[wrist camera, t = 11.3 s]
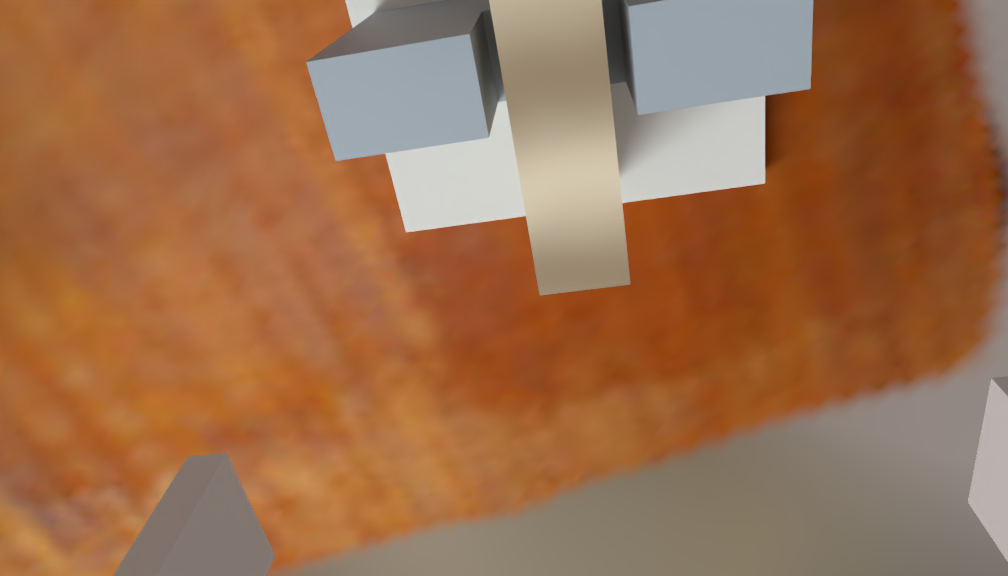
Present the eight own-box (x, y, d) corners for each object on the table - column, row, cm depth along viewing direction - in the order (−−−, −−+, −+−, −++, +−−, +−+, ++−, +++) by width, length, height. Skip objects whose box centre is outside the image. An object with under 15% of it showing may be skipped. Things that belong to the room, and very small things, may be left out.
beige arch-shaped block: (484, -177, 25) (454, -203, 17) (569, -196, 25) (578, -231, 17) (542, 193, 32) (539, 295, 24) (611, 184, 31) (630, 284, 24)
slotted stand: (308, -172, 26) (188, -199, 18) (757, -271, 24) (871, -356, 16) (409, 223, 34) (360, 340, 25) (759, 175, 32) (836, 284, 23)
